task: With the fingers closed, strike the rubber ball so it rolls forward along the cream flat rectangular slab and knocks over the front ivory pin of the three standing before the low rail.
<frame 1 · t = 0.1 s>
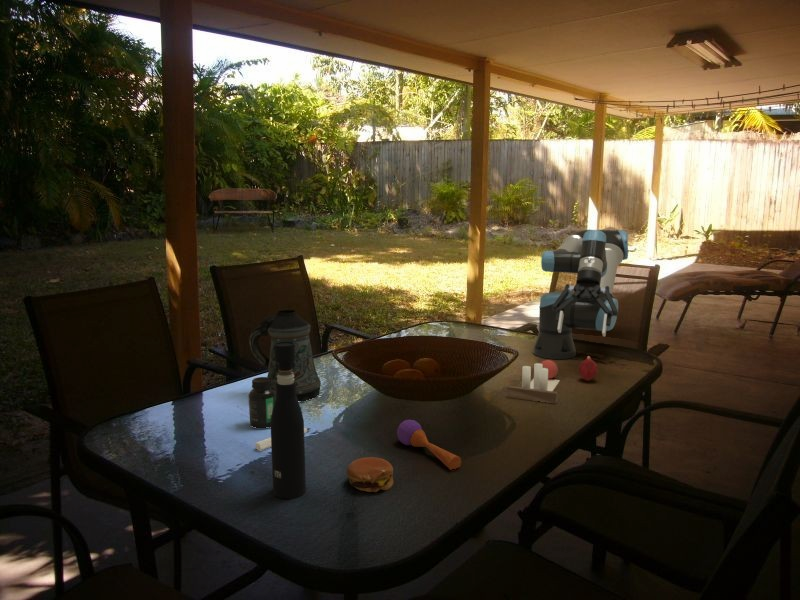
hand: (581, 332, 190), 15 cm above the table, tool tilted 35°, fingers open, 13 cm apart
supplement bottle: (263, 425, 155), on the table
back pin left: (542, 397, 176), on the table
ball: (548, 369, 194), on the table
backstop: (531, 399, 174), on the table
beer stein: (288, 396, 178), on the table
maraca: (427, 455, 138), on the table
front pin: (537, 391, 181), on the table
black water bottle: (289, 492, 120), on the table
cream flat rectangular slab: (542, 384, 188), on the table
marker: (285, 442, 146), on the table
burger: (371, 484, 124), on the table
back pin right: (525, 395, 178), on the table
onion: (587, 381, 192), on the table
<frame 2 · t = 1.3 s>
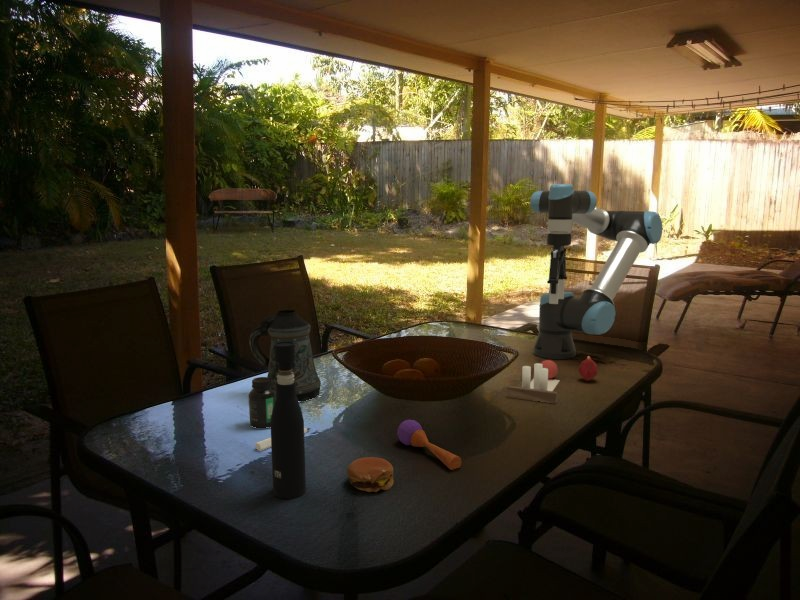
hand: (556, 301, 199), 24 cm above the table, tool pointing down, fingers open, 10 cm apart
nothing on the table moved.
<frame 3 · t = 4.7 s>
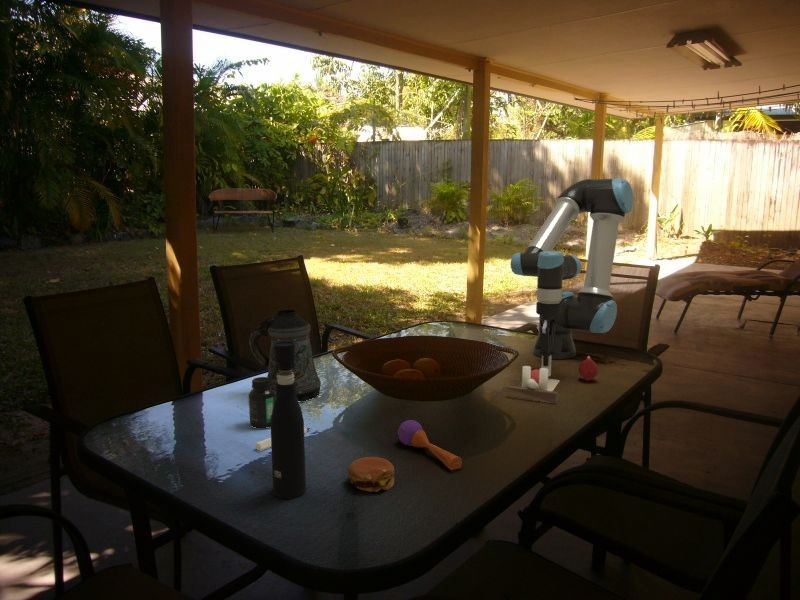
hand: (546, 375, 191), 2 cm above the table, tool pointing down, fingers closed
ball: (537, 379, 183), on the table
front pin: (536, 389, 180), point 1 cm above the table, tilted 61°, touching backstop
everything else where it was.
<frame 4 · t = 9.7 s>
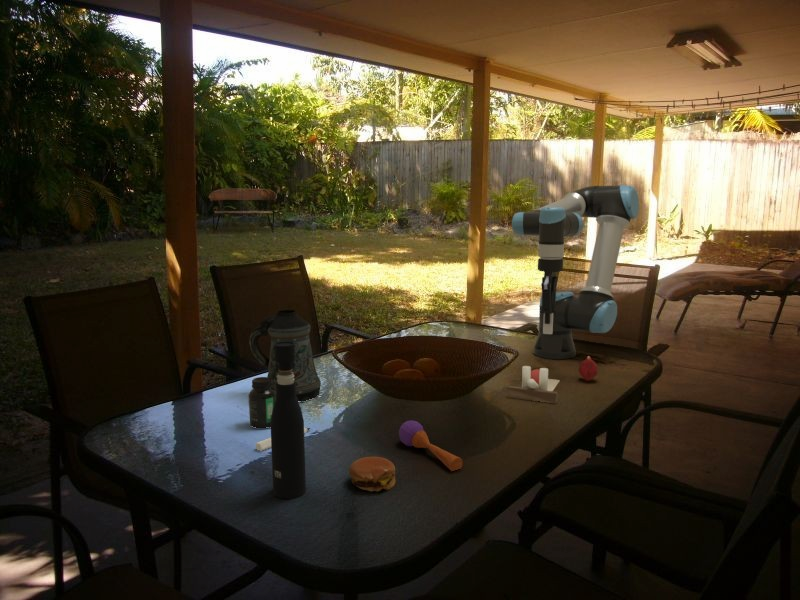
hand: (547, 333, 189), 15 cm above the table, tool pointing down, fingers closed
nothing on the table moved.
at the end: front pin tilted 61°; front pin never touched the robot; ball moved 12.1 cm from its start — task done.
